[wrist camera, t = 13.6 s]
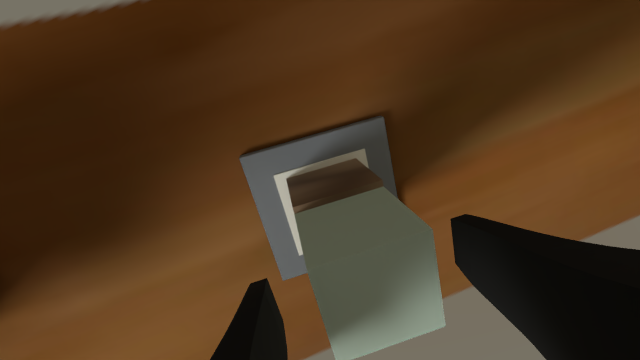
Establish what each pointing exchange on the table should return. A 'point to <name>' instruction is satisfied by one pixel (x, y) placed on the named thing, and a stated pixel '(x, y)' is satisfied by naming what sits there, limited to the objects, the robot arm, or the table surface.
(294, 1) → the table surface
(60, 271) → the table surface
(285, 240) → the grey flat square tile
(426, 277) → the sage block
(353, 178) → the walnut block
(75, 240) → the table surface
